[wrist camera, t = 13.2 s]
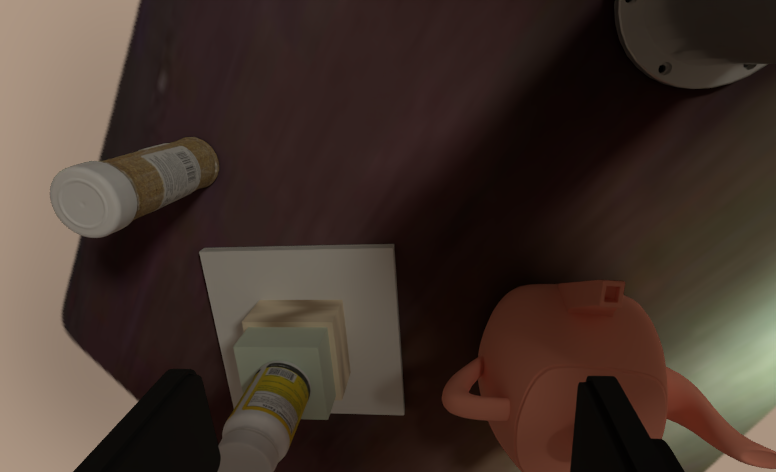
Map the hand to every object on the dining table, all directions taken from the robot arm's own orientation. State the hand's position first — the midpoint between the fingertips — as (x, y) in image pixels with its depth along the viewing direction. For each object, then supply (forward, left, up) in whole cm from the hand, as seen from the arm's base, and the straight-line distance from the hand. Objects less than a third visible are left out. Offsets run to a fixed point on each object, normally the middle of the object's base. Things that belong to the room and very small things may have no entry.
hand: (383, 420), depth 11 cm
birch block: (+12, +15, -27) cm, 33 cm away
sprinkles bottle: (+20, -2, -28) cm, 35 cm away
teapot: (-12, +15, -28) cm, 34 cm away
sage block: (+12, +15, -23) cm, 30 cm away
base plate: (+12, +15, -28) cm, 34 cm away
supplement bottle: (+12, +15, -20) cm, 28 cm away
